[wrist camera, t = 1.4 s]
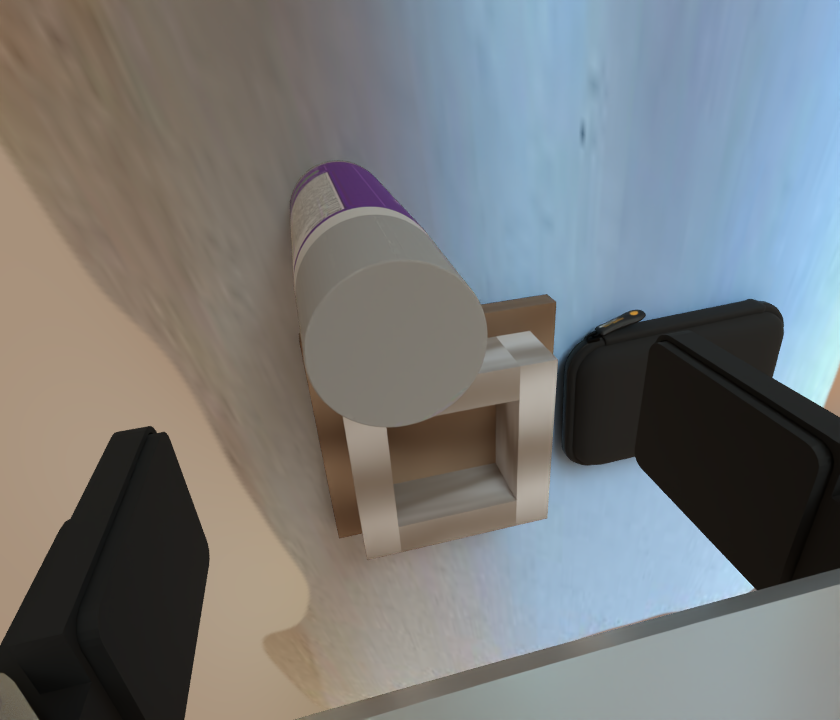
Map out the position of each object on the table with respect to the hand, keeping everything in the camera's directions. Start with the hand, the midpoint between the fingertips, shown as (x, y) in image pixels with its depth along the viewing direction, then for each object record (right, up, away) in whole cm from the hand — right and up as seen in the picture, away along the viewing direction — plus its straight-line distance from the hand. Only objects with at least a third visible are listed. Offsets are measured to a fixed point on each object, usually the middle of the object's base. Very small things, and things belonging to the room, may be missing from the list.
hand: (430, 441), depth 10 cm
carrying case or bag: (+15, +1, +25) cm, 29 cm away
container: (-4, +9, +15) cm, 18 cm away
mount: (+1, -2, +22) cm, 22 cm away
